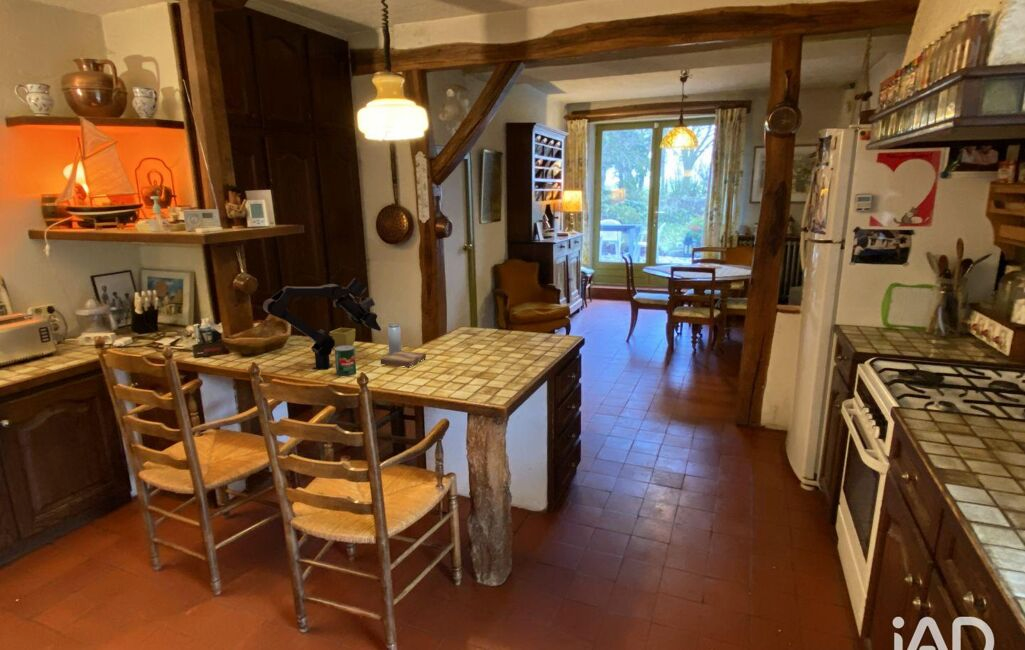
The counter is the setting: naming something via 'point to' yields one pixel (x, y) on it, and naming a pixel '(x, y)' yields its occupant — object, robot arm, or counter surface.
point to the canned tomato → (345, 360)
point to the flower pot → (343, 336)
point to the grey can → (394, 338)
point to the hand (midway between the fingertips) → (375, 328)
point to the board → (403, 358)
